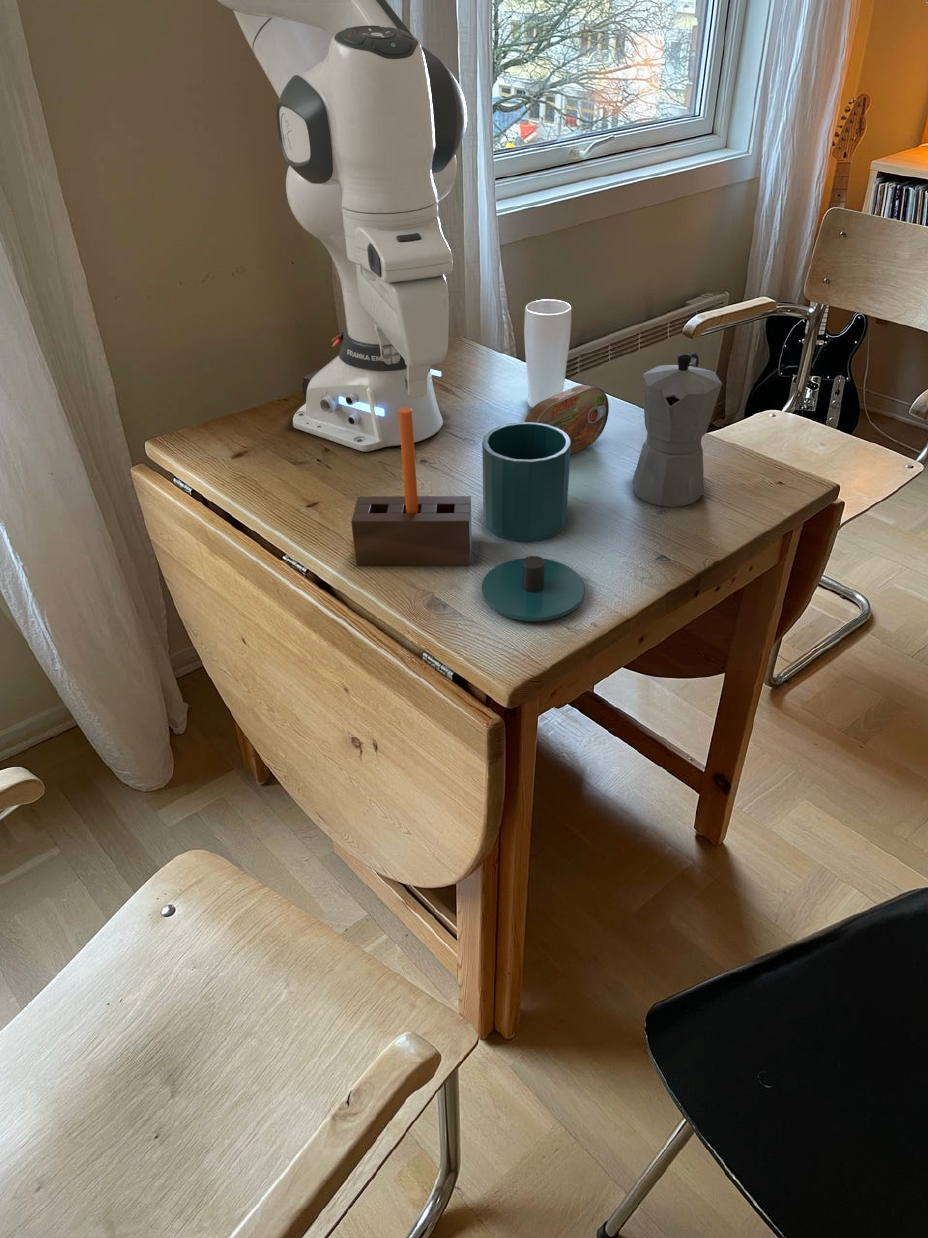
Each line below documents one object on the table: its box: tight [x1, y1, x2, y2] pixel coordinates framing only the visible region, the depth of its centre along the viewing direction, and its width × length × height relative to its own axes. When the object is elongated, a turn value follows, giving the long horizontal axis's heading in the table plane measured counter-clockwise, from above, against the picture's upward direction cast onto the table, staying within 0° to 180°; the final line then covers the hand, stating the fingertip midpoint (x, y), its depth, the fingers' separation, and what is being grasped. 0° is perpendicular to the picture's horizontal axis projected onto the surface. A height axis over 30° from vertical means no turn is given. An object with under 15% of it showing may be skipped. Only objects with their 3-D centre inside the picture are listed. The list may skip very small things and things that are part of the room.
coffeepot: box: [631, 352, 723, 508], centre depth 110 cm, size 15×9×18 cm, turn 159°
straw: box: [399, 407, 419, 513], centre depth 99 cm, size 1×1×18 cm
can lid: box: [481, 555, 586, 622], centre depth 96 cm, size 11×11×4 cm
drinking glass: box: [523, 299, 572, 409], centre depth 132 cm, size 7×7×15 cm
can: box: [481, 421, 571, 542], centre depth 107 cm, size 10×10×11 cm
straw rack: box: [351, 495, 473, 567], centre depth 103 cm, size 6×13×6 cm, turn 88°
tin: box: [523, 384, 610, 456], centre depth 122 cm, size 15×3×8 cm, turn 131°
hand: (403, 377), depth 92 cm, fingers open, 8 cm apart
